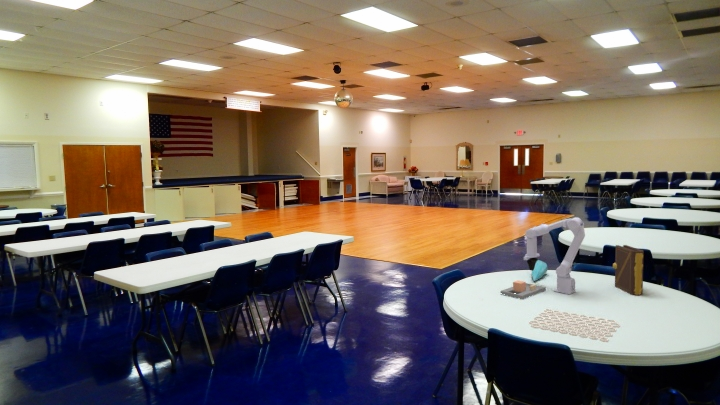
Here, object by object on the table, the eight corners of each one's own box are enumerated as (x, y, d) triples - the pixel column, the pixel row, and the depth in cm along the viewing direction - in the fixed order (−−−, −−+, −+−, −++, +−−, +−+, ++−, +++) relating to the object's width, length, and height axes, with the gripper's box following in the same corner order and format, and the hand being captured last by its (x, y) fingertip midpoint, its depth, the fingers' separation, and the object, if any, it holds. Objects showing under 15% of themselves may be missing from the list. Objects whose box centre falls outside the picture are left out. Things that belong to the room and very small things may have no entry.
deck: (545, 290, 275) (545, 283, 274) (522, 299, 259) (522, 291, 259) (524, 286, 286) (524, 278, 285) (500, 294, 270) (500, 286, 270)
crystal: (530, 290, 293) (523, 276, 293) (538, 270, 323) (532, 257, 323) (545, 286, 288) (539, 271, 288) (552, 266, 318) (546, 253, 318)
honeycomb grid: (545, 310, 241) (545, 308, 241) (622, 323, 219) (622, 321, 219) (525, 326, 218) (525, 324, 218) (608, 343, 196) (608, 341, 196)
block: (525, 290, 269) (525, 281, 269) (520, 292, 266) (520, 283, 266) (517, 288, 273) (517, 280, 273) (513, 290, 270) (513, 281, 270)
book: (646, 295, 260) (647, 251, 258) (630, 295, 260) (631, 251, 258) (624, 284, 282) (625, 244, 280) (610, 285, 282) (611, 244, 280)
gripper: (532, 245, 289) (532, 267, 290) (519, 248, 280) (519, 271, 281) (542, 246, 284) (542, 268, 285) (529, 250, 274) (529, 272, 276)
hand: (531, 270), depth 283 cm, fingers closed
